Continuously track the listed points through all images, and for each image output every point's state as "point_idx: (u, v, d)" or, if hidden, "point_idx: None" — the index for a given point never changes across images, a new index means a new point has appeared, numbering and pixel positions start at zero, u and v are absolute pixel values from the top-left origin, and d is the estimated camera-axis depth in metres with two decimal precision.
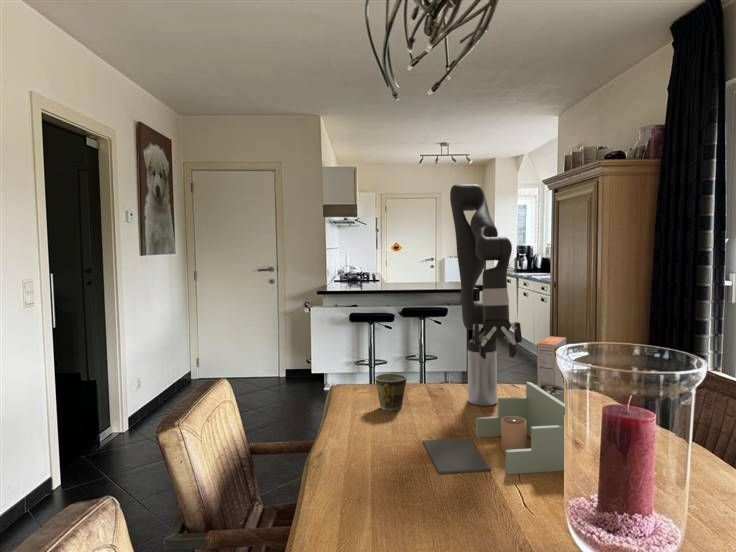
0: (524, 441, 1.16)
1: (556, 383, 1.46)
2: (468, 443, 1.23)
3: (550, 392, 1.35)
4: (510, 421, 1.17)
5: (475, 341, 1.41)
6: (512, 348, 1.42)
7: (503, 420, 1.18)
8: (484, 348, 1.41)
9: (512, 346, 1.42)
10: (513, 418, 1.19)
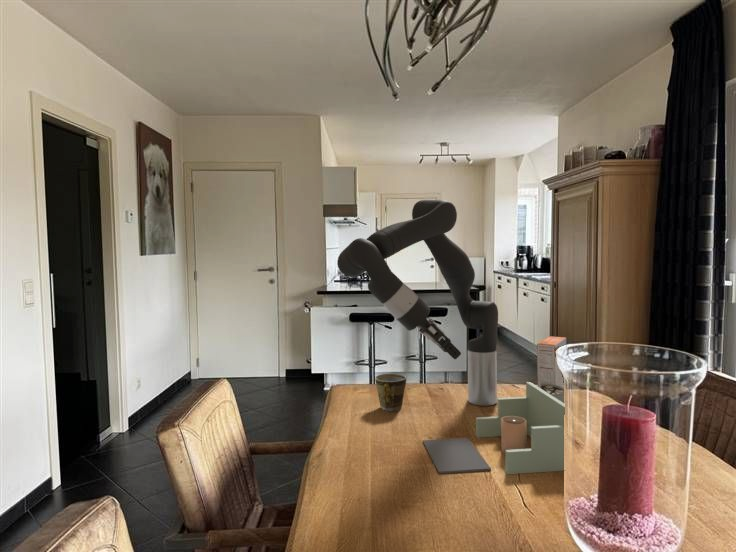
0: (524, 441, 1.16)
1: (556, 383, 1.46)
2: (468, 443, 1.23)
3: (550, 392, 1.35)
4: (510, 421, 1.17)
5: None
6: (446, 351, 1.11)
7: (503, 420, 1.18)
8: None
9: (444, 349, 1.11)
10: (513, 418, 1.19)
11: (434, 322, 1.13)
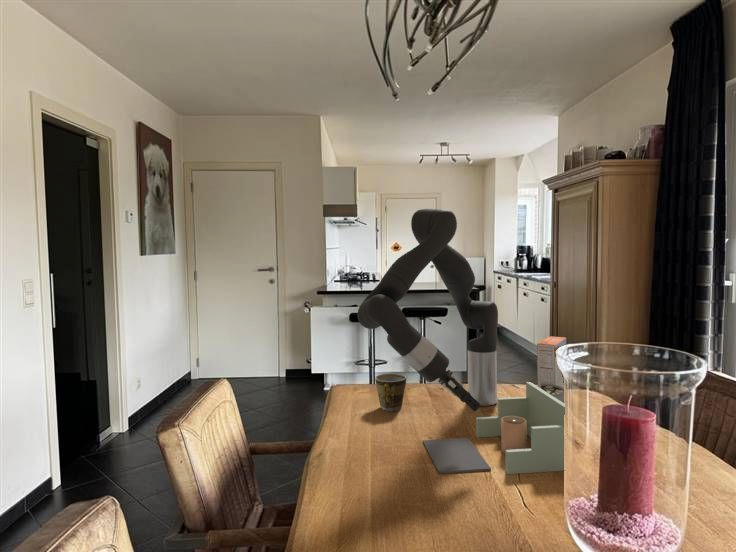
0: (524, 441, 1.16)
1: (556, 383, 1.46)
2: (468, 443, 1.23)
3: (550, 392, 1.35)
4: (510, 421, 1.17)
5: None
6: None
7: (503, 420, 1.18)
8: None
9: None
10: (513, 418, 1.19)
11: (453, 374, 1.14)
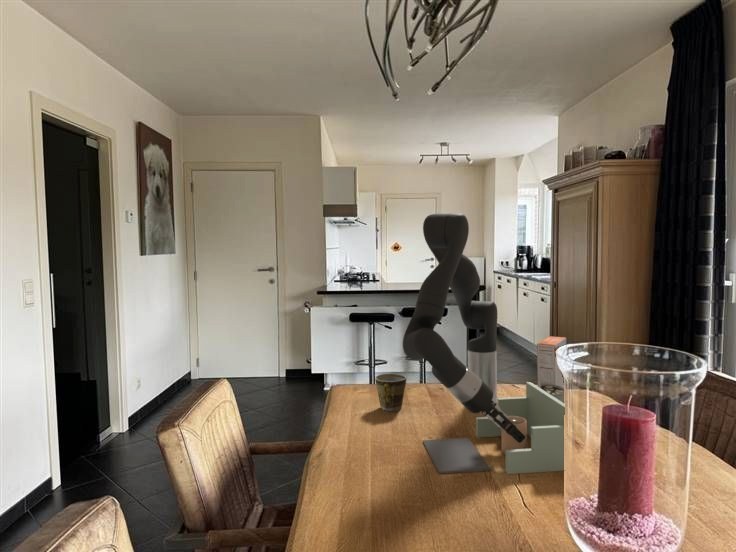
0: (524, 441, 1.16)
1: (556, 383, 1.46)
2: (468, 443, 1.23)
3: (550, 392, 1.35)
4: (510, 421, 1.17)
5: None
6: None
7: None
8: None
9: (509, 433, 1.14)
10: (513, 418, 1.19)
11: (498, 406, 1.15)
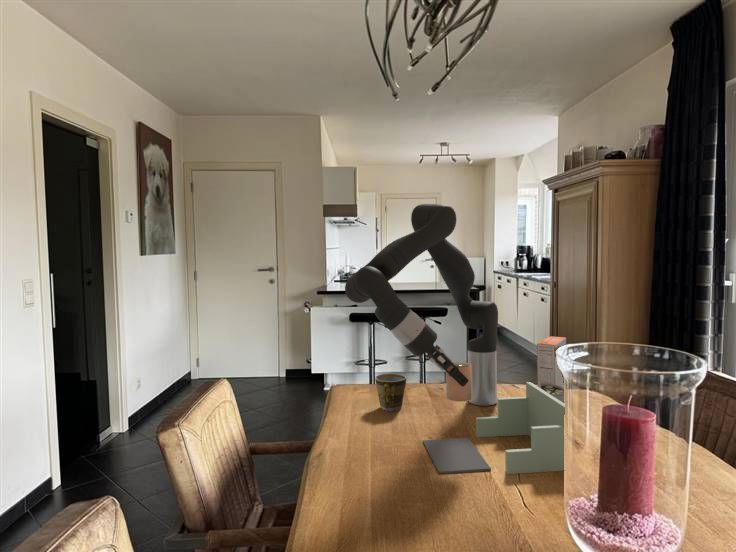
0: (468, 385, 1.13)
1: (556, 383, 1.46)
2: (468, 443, 1.23)
3: (550, 392, 1.35)
4: (455, 365, 1.15)
5: None
6: None
7: None
8: None
9: None
10: (458, 363, 1.17)
11: (441, 349, 1.13)
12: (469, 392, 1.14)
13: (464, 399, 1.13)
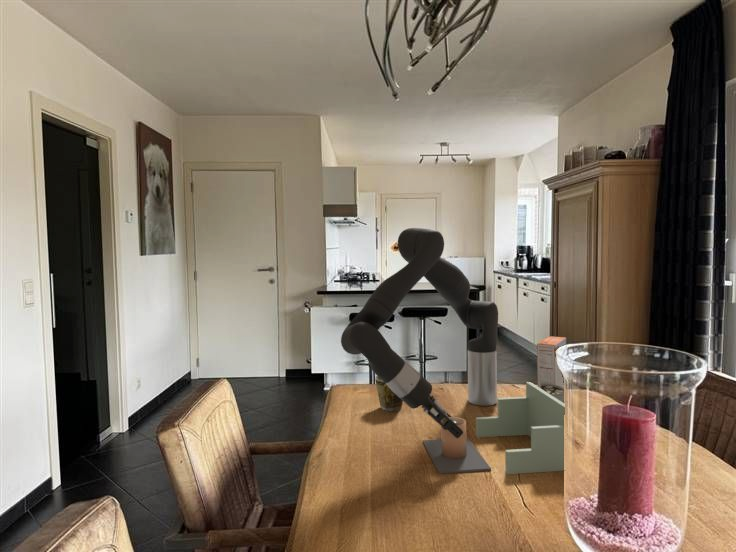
0: (463, 442, 1.14)
1: (556, 383, 1.46)
2: (468, 443, 1.23)
3: (550, 392, 1.35)
4: None
5: None
6: None
7: (443, 421, 1.16)
8: None
9: None
10: (453, 419, 1.17)
11: (436, 400, 1.14)
12: (464, 449, 1.15)
13: (459, 456, 1.14)
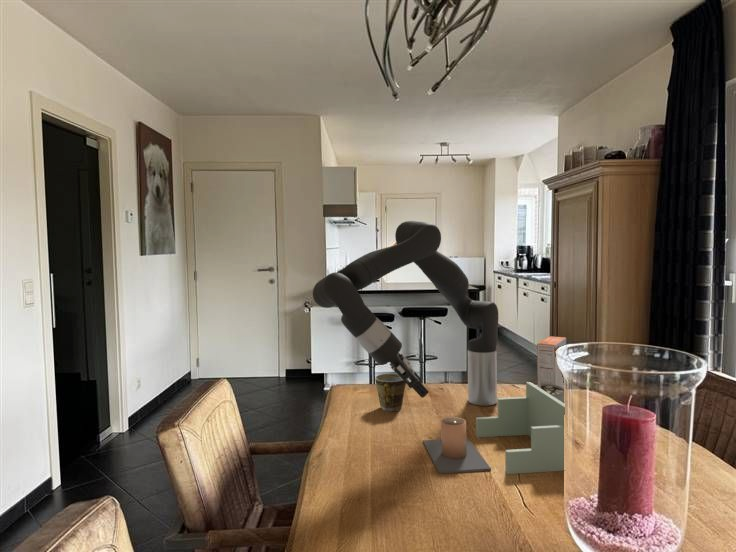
0: (463, 442, 1.14)
1: (556, 383, 1.46)
2: (468, 443, 1.23)
3: (550, 392, 1.35)
4: (449, 422, 1.15)
5: None
6: None
7: (443, 421, 1.16)
8: None
9: None
10: (453, 419, 1.17)
11: (405, 359, 1.13)
12: (464, 449, 1.15)
13: (459, 456, 1.14)
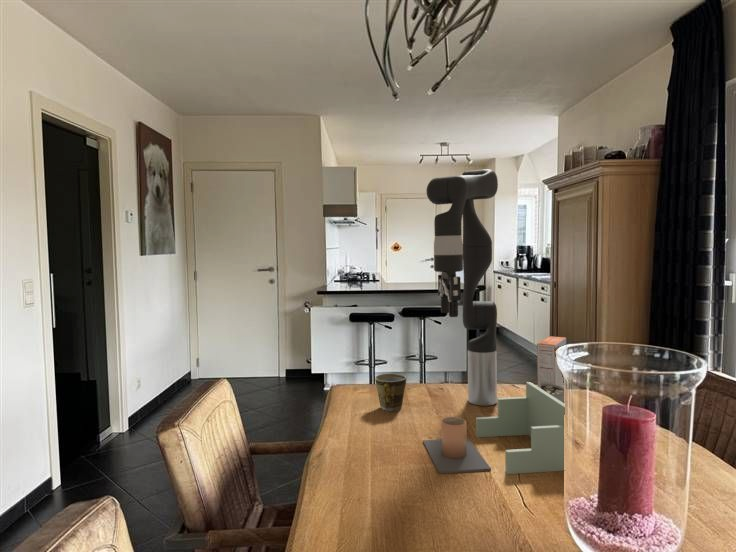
0: (463, 442, 1.14)
1: (556, 383, 1.46)
2: (468, 443, 1.23)
3: (550, 392, 1.35)
4: (450, 422, 1.15)
5: None
6: (449, 306, 1.22)
7: (443, 421, 1.16)
8: None
9: (449, 303, 1.22)
10: (454, 419, 1.17)
11: None
12: (464, 449, 1.15)
13: (459, 456, 1.14)
